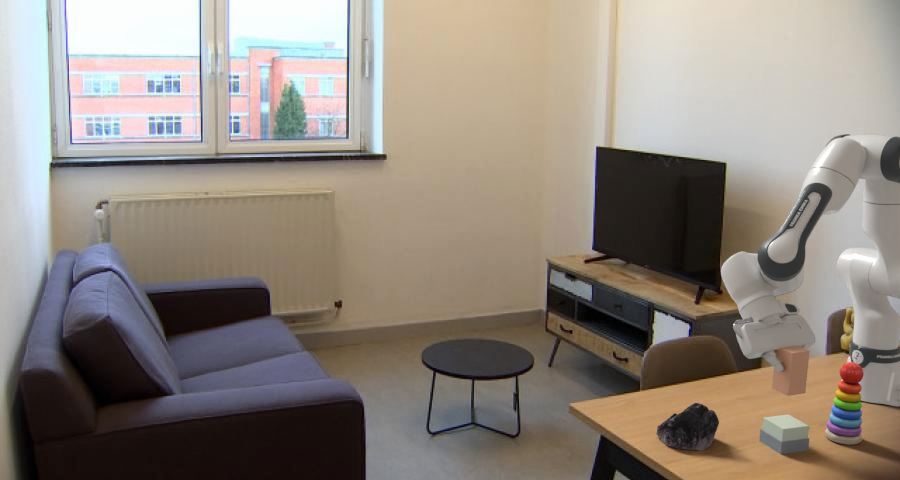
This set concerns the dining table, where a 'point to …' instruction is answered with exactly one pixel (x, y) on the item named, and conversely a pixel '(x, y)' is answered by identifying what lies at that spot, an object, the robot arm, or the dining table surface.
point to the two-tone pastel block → (784, 434)
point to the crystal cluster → (690, 428)
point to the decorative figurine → (848, 330)
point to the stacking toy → (847, 407)
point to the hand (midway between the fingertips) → (793, 369)
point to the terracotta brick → (791, 370)
